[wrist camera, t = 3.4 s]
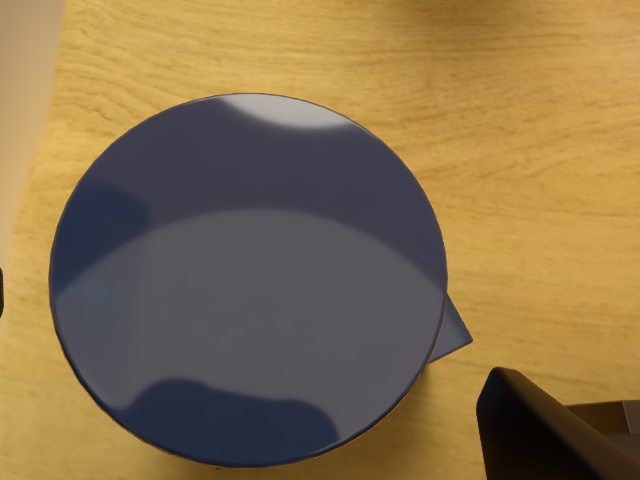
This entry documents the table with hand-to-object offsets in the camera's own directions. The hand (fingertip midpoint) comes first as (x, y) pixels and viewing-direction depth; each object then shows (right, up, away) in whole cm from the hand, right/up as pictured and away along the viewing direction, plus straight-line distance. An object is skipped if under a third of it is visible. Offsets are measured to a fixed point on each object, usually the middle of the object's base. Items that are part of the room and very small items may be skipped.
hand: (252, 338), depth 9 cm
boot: (+1, -2, +8) cm, 8 cm away
